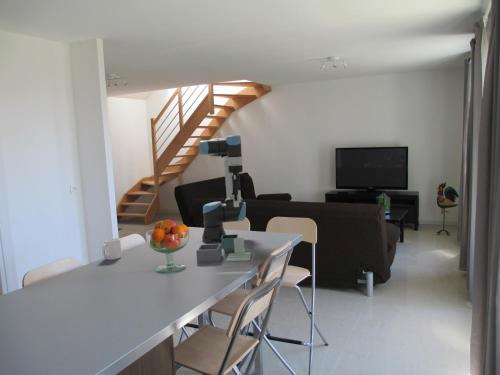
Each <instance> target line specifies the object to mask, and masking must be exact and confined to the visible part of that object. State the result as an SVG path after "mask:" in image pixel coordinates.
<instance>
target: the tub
mask: <svg viewBox="0 0 500 375" xmlns="http://www.w3.org/2000/svg"><path fill="white" fill-rule="evenodd" d="M222 250H223V248H222V243H207V244H206V243H205V244H204V243H203V244H200V245H199V246H198V247H197V249H196V250H195V251H196V253H195V254H196V263H198V264H201V263H219V262H220V261H221V258H222V256H223V252H222Z"/></svg>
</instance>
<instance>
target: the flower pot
mask: <svg viewBox="0 0 500 375" xmlns="http://www.w3.org/2000/svg"><path fill="white" fill-rule="evenodd" d="M234 238H239V235H238V234H237V233H236V234H235V233H234V234H226V235H222V238H221V240H222V241H221V247H222V250H223V251H224V253H235V251H234Z"/></svg>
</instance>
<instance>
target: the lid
mask: <svg viewBox="0 0 500 375" xmlns="http://www.w3.org/2000/svg"><path fill="white" fill-rule="evenodd" d="M234 251H235V252H228V255H227V256H226V257H227V258H226V260H225V261H226V262H247V261H250V260H251V257H252V256H251V255H252V252H247V251H246V252H245V240H244V237H238V238H234Z"/></svg>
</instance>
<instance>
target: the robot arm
mask: <svg viewBox="0 0 500 375" xmlns="http://www.w3.org/2000/svg"><path fill="white" fill-rule="evenodd" d="M198 147H199V148H198V149H199V154H200V155H205V156H209V157H215V158H216V157H217V158H218V157H221V159H220V160H222V161H223V165H224V166H223V167H224V178H225V179H224V180H225V181H224V182H225V191H226V198H225V200H224V203H222V201H213V202H209V203H206V204H204V205H203V206H202V214H203V233H202V235H201V236H202V237H201V238H202V239H201V241H202V242H204V243H219V242H222V240H221V238H222V235H227V234H226V231H225V228H224V225H223V224H224V223H233V222H243V221H245V219H246V215H247V214H246V211H247V210H246V209H247V203H246V202H245V201H244V199H243V197H242V194H241V191H242V190H243V188H242V187H241V176H240V173H242V172H243V168H244V167H243V156H242V139H241V135H235V134H234V135H227V136H226V137H220V138H211V139H208V140H206V139H205V140H199V142H198Z"/></svg>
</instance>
